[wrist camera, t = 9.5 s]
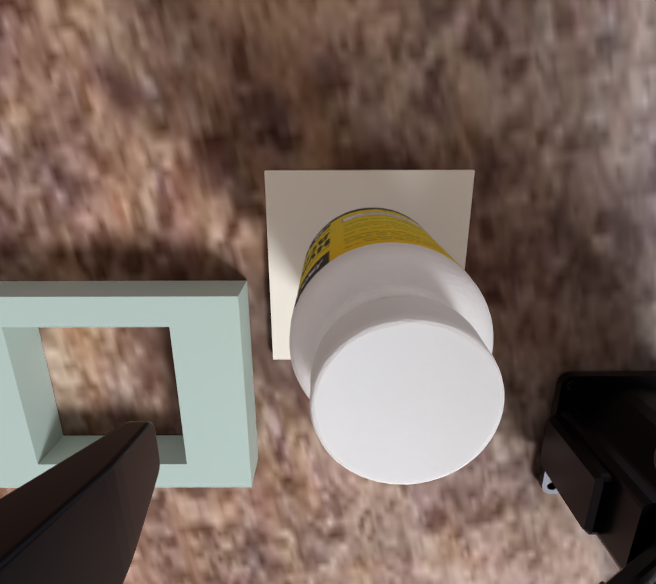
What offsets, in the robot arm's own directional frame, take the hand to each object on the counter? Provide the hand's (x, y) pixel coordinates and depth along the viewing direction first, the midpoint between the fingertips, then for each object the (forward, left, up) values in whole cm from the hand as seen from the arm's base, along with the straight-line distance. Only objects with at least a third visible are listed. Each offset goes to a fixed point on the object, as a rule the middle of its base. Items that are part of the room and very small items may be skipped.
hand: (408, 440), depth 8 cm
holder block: (+11, +5, -11) cm, 16 cm away
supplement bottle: (0, 0, -11) cm, 11 cm away
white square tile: (0, 0, -11) cm, 11 cm away
